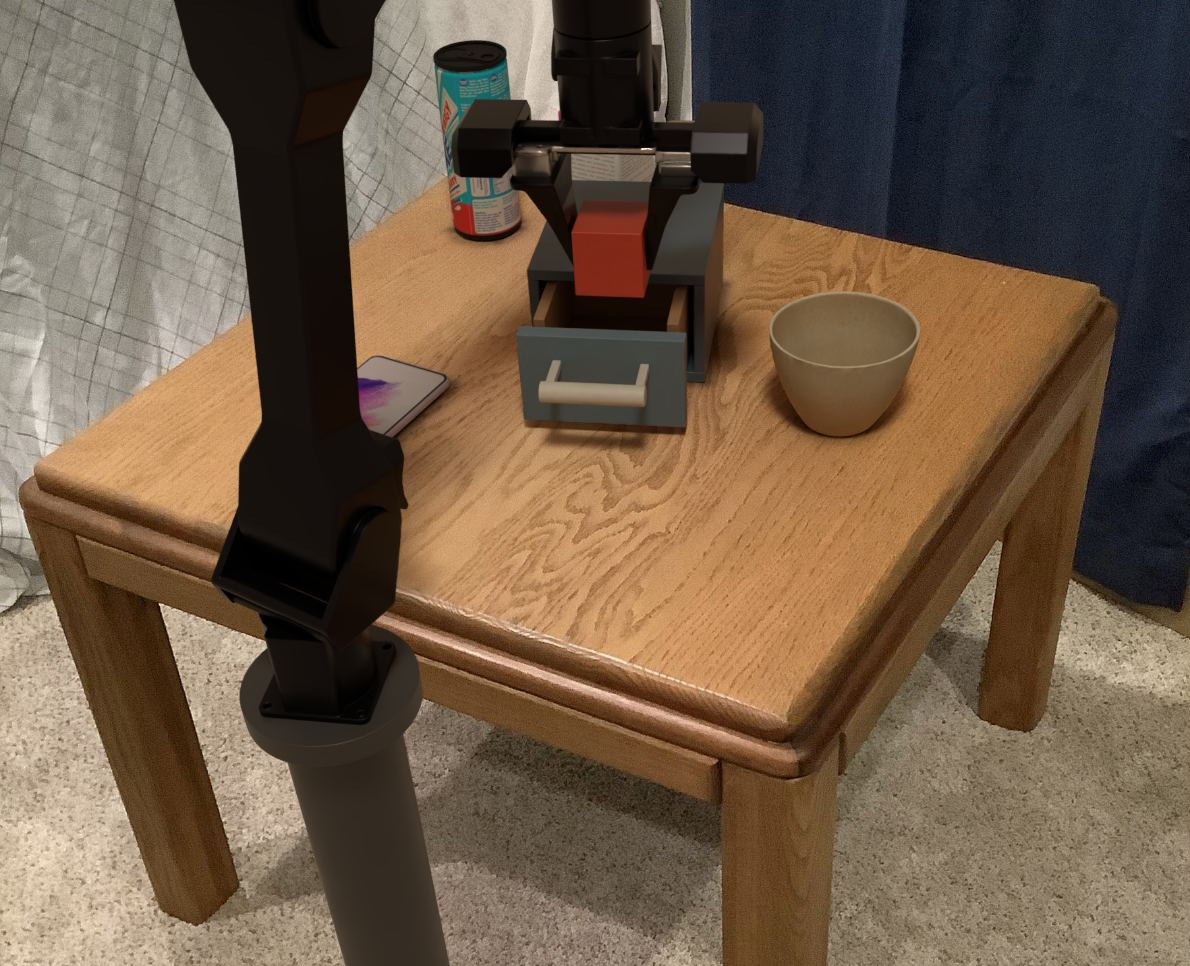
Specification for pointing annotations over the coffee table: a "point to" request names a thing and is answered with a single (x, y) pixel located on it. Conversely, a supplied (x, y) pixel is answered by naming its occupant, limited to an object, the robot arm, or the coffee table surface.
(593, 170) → the supplement box
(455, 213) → the teal canister
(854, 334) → the bowl
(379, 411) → the smartphone
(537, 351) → the drawer
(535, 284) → the cabinet
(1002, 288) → the coffee table surface
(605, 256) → the block
